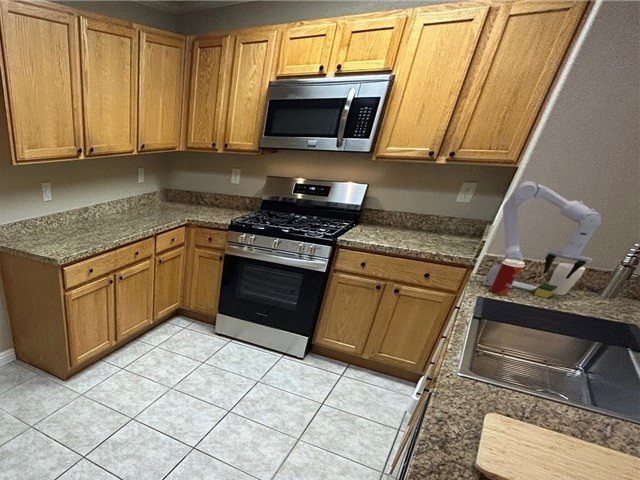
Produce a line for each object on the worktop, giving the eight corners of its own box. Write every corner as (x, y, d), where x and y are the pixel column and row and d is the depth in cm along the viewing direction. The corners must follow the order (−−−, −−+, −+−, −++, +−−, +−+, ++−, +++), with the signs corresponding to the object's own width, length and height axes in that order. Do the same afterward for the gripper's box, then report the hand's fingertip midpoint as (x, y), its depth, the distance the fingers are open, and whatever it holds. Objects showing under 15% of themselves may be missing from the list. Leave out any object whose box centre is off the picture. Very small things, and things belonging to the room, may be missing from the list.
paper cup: (508, 297, 179) (526, 265, 171) (486, 292, 183) (503, 261, 175) (508, 292, 184) (525, 261, 177) (487, 288, 188) (503, 257, 180)
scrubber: (546, 298, 180) (552, 289, 177) (534, 294, 183) (539, 286, 180) (552, 295, 183) (557, 286, 181) (539, 291, 186) (544, 283, 184)
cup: (564, 291, 188) (581, 265, 181) (571, 297, 181) (589, 270, 174) (540, 287, 191) (555, 261, 184) (545, 293, 184) (562, 267, 178)
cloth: (502, 283, 194) (503, 282, 193) (508, 281, 197) (509, 279, 197) (530, 291, 186) (531, 290, 186) (537, 288, 190) (537, 286, 190)
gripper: (550, 240, 172) (531, 272, 180) (596, 249, 163) (574, 282, 170) (556, 238, 176) (537, 269, 183) (601, 246, 166) (579, 279, 174)
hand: (555, 275), depth 177 cm, fingers open, 7 cm apart
